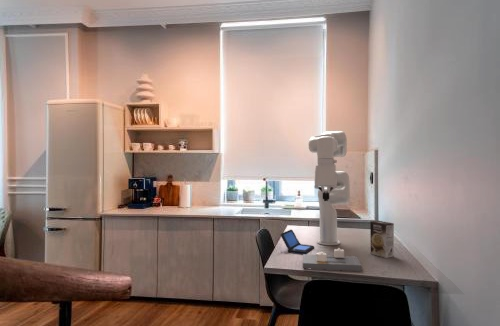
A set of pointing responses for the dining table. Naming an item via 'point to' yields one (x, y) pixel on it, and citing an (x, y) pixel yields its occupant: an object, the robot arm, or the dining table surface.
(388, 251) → the coffee box
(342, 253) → the inner tab
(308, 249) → the handheld game console
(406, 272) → the dining table surface
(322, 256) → the white small block
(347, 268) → the switch panel
